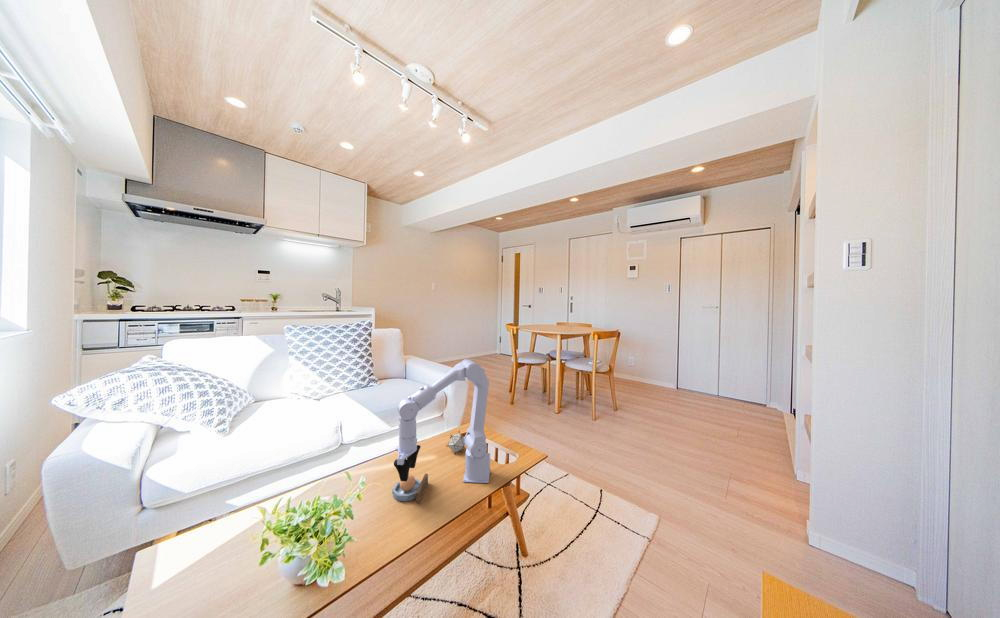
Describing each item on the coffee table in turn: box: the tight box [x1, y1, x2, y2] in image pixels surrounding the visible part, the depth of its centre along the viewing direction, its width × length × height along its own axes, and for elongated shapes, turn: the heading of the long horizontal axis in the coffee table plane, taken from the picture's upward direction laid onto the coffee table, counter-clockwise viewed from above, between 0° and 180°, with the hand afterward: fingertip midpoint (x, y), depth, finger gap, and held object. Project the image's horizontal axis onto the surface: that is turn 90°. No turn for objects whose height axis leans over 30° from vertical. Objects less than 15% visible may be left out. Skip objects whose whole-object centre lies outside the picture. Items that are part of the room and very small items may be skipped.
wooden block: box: [415, 473, 429, 505], centre depth 105 cm, size 1×11×4 cm, turn 178°
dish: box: [391, 478, 421, 503], centre depth 105 cm, size 9×9×2 cm
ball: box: [399, 473, 416, 492], centre depth 105 cm, size 5×5×5 cm
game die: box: [445, 430, 466, 455], centre depth 133 cm, size 9×8×10 cm
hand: (408, 473), depth 105 cm, fingers open, 7 cm apart
